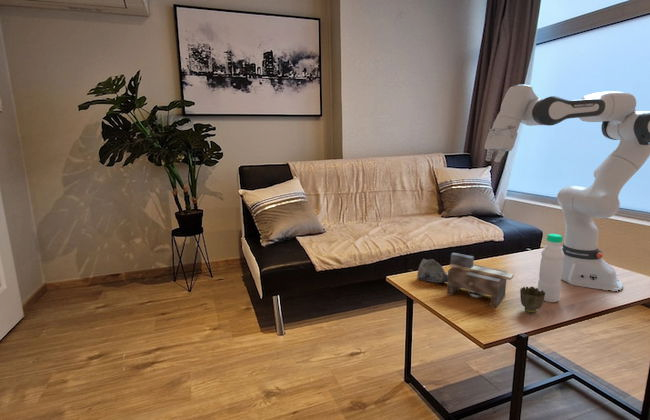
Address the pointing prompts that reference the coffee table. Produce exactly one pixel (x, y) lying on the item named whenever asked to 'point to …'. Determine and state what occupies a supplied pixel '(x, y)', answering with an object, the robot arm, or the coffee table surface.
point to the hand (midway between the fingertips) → (492, 161)
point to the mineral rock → (432, 271)
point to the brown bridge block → (477, 283)
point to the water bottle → (551, 268)
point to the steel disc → (475, 294)
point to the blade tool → (467, 264)
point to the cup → (531, 299)
